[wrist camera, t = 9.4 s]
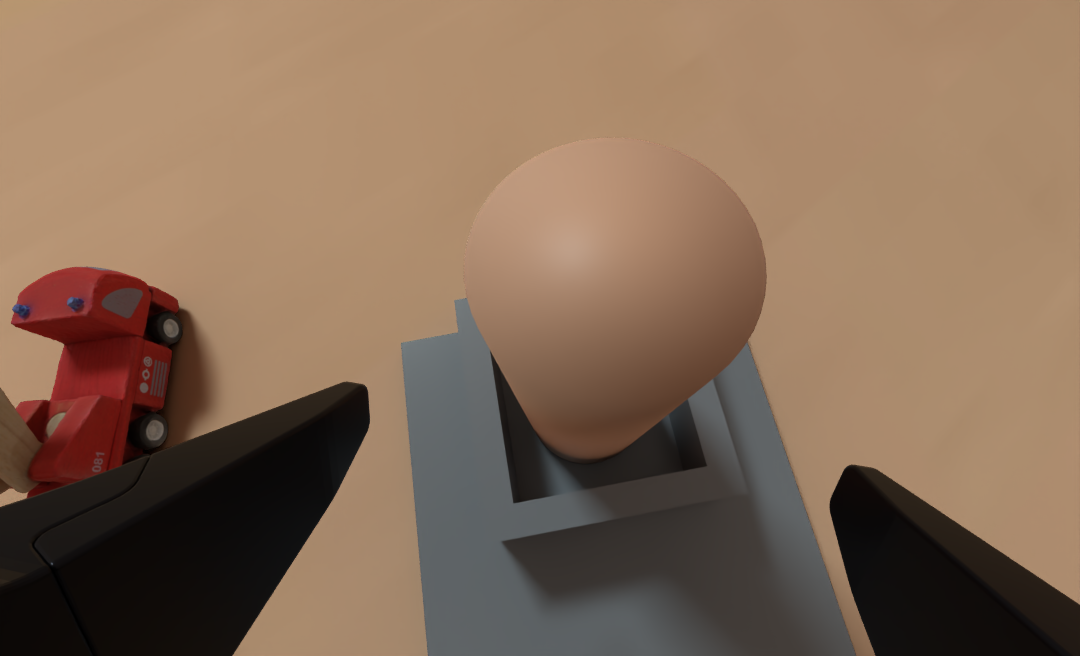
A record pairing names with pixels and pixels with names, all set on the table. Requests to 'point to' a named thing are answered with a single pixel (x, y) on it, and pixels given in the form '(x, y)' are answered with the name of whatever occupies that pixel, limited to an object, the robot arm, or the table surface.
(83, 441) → the toy fire truck
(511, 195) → the peg
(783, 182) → the table surface
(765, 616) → the jig cradle
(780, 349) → the table surface
